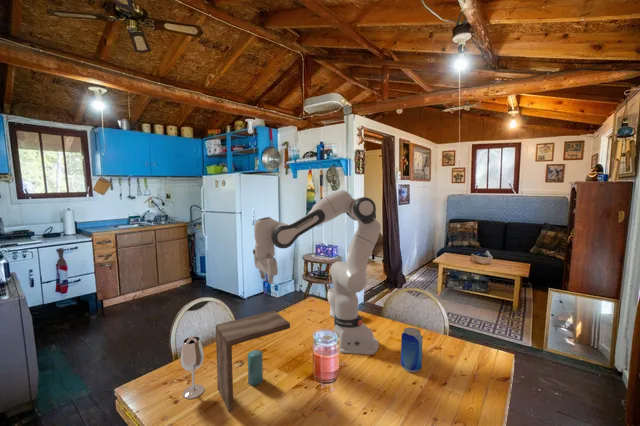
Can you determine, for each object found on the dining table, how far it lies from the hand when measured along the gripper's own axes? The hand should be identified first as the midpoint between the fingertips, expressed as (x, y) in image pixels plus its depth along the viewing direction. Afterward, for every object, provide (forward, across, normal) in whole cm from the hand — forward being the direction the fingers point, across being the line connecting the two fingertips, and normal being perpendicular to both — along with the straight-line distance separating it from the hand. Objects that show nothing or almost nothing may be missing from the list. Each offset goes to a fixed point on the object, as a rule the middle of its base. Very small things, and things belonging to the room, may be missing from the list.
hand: (266, 280), depth 140 cm
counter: (+32, -25, +17) cm, 44 cm away
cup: (+33, +12, -47) cm, 58 cm away
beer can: (+35, -48, -44) cm, 73 cm away
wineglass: (+31, -15, +37) cm, 51 cm away
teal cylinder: (+32, -21, +15) cm, 41 cm away
